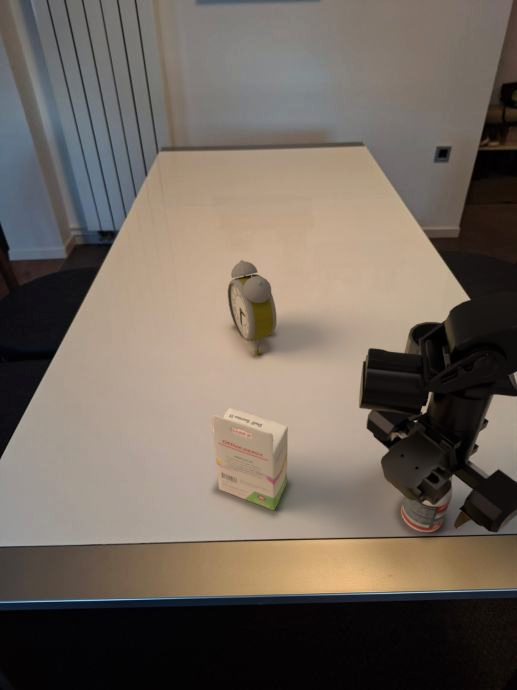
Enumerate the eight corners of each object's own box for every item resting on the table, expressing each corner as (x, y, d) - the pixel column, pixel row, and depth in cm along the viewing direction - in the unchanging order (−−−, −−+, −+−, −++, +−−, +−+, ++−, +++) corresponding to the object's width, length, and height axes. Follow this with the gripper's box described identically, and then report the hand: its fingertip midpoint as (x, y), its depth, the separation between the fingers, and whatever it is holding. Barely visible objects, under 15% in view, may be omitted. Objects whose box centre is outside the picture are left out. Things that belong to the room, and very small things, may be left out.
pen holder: (460, 360, 89) (470, 329, 85) (453, 393, 82) (463, 361, 78) (408, 347, 92) (415, 317, 88) (397, 378, 86) (403, 346, 81)
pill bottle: (435, 540, 62) (451, 498, 56) (394, 521, 64) (406, 478, 59) (447, 509, 65) (463, 466, 60) (408, 491, 68) (420, 448, 62)
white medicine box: (288, 483, 69) (291, 408, 60) (274, 512, 65) (275, 436, 56) (233, 463, 72) (227, 388, 63) (216, 489, 68) (208, 414, 59)
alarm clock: (228, 326, 99) (224, 259, 89) (260, 318, 101) (258, 251, 91) (251, 360, 90) (249, 289, 81) (285, 350, 92) (286, 280, 83)
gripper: (339, 394, 55) (329, 480, 65) (485, 514, 43) (446, 598, 53) (407, 357, 60) (388, 442, 70) (555, 455, 48) (508, 541, 58)
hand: (426, 499), depth 62 cm, fingers open, 9 cm apart
